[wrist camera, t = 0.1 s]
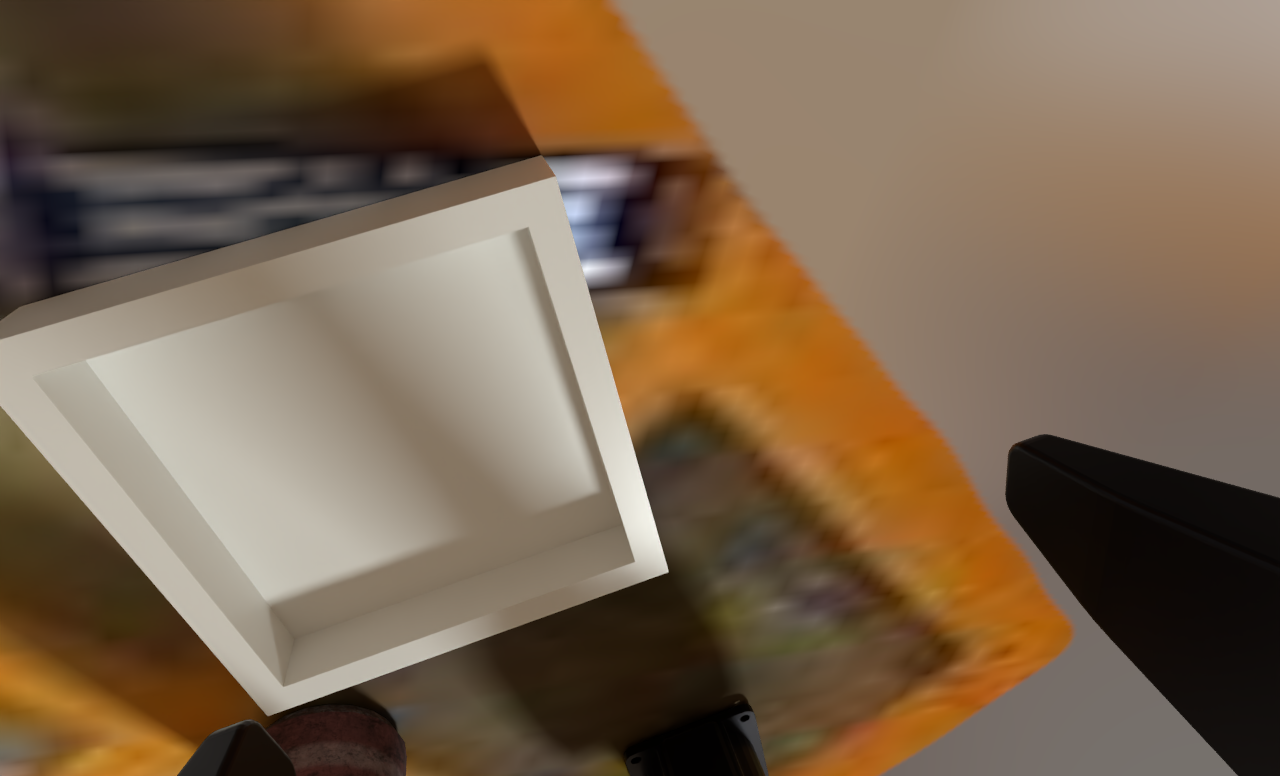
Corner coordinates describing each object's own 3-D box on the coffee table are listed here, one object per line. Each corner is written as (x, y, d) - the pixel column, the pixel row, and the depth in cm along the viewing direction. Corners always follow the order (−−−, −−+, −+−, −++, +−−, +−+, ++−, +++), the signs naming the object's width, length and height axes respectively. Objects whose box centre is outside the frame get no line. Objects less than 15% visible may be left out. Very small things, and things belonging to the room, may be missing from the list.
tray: (648, 520, 26) (668, 571, 24) (284, 649, 25) (267, 716, 23) (541, 155, 19) (555, 176, 17) (19, 306, 18) (-45, 353, 15)
